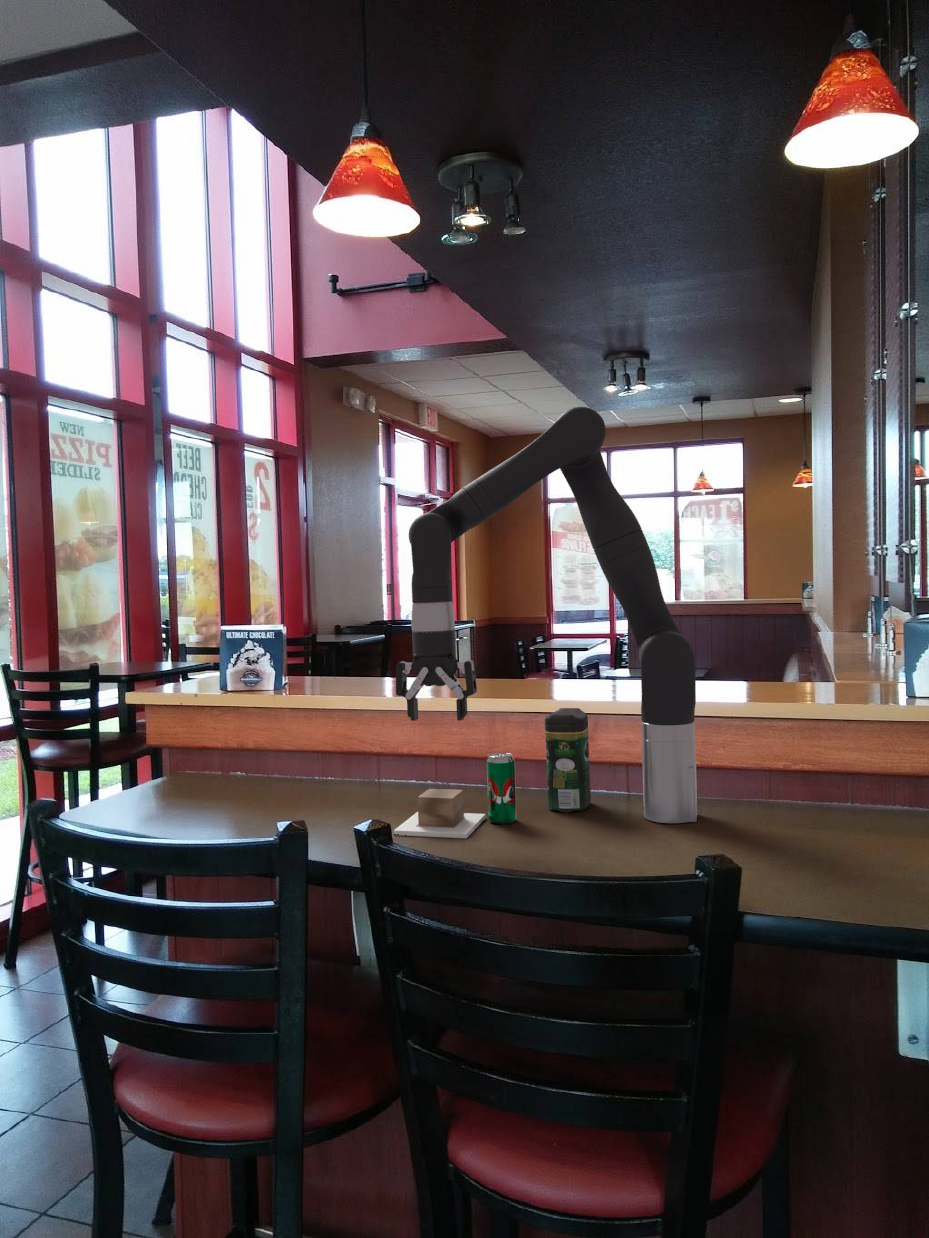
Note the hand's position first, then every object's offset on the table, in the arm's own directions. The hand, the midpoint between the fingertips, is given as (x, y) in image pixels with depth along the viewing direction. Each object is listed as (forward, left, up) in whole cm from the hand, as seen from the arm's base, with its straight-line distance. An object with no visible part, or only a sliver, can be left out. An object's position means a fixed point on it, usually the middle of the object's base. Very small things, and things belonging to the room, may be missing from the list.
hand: (437, 719), depth 162 cm
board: (0, 0, -19) cm, 19 cm away
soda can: (-10, -5, -19) cm, 22 cm away
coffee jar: (-20, -17, -19) cm, 33 cm away
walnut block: (0, 0, -18) cm, 18 cm away
